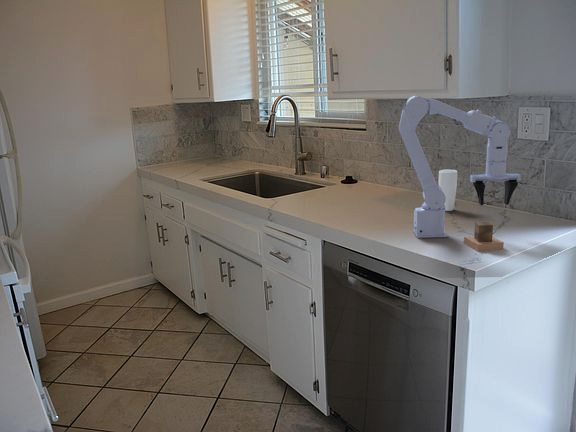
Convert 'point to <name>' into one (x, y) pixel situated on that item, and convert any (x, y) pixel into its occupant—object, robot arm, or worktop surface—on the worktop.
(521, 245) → the worktop surface
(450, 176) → the drinking glass
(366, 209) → the worktop surface
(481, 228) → the walnut block
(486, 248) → the terracotta tile
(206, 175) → the worktop surface
